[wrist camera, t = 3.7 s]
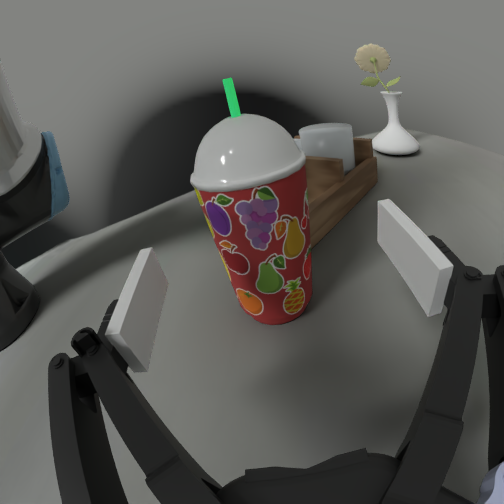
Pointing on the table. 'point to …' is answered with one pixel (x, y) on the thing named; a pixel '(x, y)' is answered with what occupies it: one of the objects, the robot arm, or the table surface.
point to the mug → (329, 142)
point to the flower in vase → (394, 134)
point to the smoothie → (257, 211)
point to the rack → (337, 187)
